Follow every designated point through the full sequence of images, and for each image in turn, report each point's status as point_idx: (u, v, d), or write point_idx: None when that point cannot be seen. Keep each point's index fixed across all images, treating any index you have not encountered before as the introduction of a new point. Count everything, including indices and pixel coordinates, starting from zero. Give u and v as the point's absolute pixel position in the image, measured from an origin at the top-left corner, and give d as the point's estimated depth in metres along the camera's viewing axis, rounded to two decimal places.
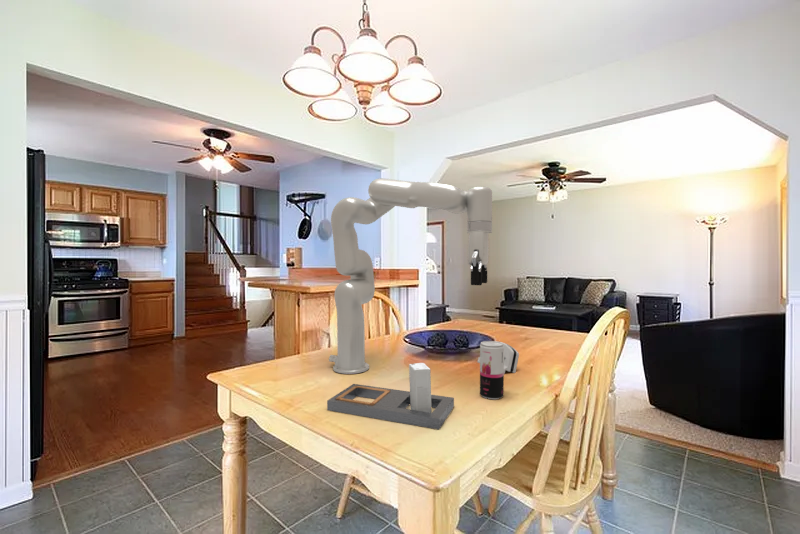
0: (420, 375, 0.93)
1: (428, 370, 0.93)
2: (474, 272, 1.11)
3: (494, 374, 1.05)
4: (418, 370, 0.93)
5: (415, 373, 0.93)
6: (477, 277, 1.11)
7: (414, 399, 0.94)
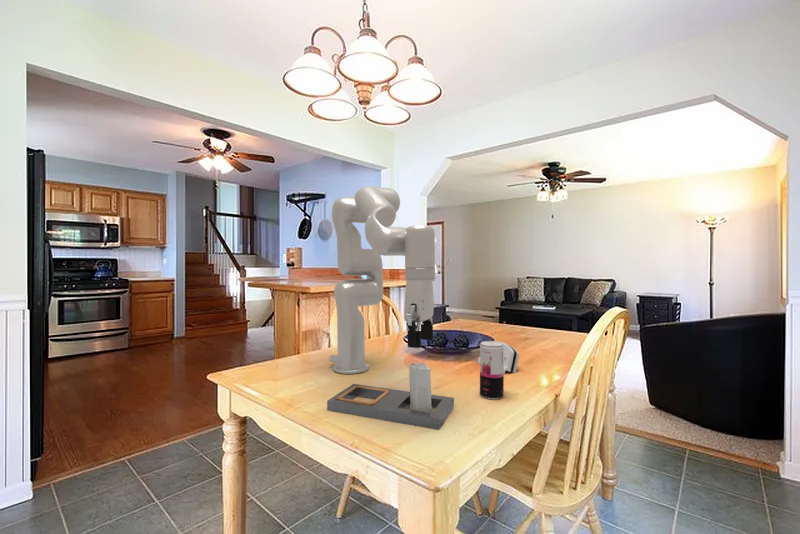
0: (420, 375, 0.93)
1: (428, 370, 0.93)
2: (411, 332, 0.90)
3: (494, 374, 1.05)
4: (418, 370, 0.93)
5: (415, 373, 0.93)
6: (414, 338, 0.90)
7: (414, 399, 0.94)
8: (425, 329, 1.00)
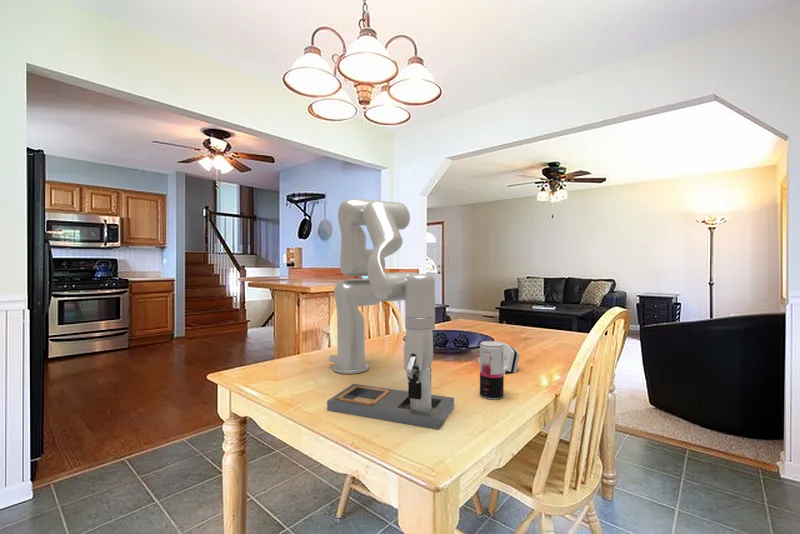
0: None
1: (428, 370, 0.94)
2: (412, 384, 0.92)
3: (493, 374, 1.05)
4: None
5: (415, 373, 0.93)
6: (415, 390, 0.91)
7: (414, 399, 0.94)
8: None
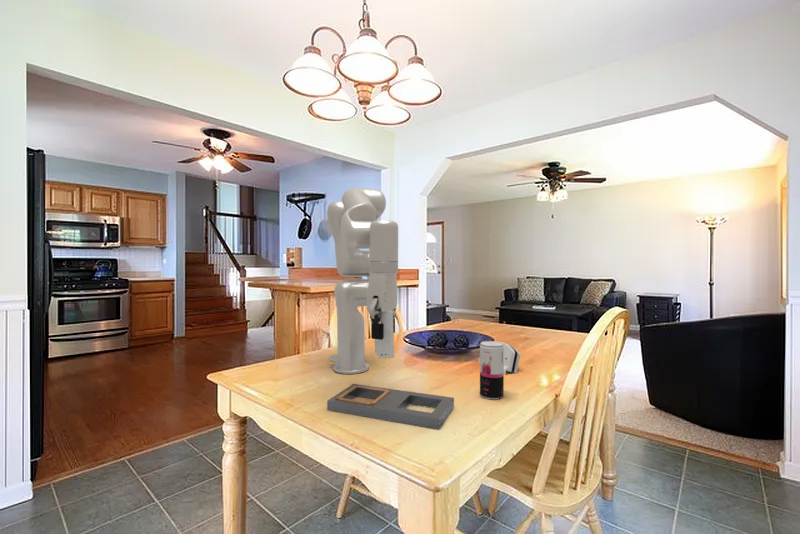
0: (383, 317, 0.97)
1: (391, 312, 0.97)
2: (374, 324, 0.95)
3: (493, 374, 1.05)
4: None
5: (378, 315, 0.96)
6: (377, 330, 0.95)
7: (377, 340, 0.97)
8: None
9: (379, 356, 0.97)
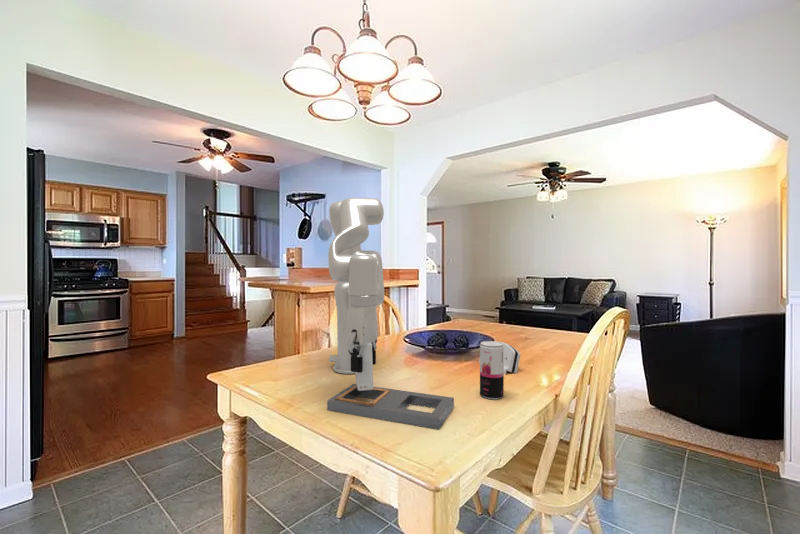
0: (362, 350, 0.99)
1: (370, 345, 0.99)
2: (353, 358, 0.97)
3: (494, 374, 1.05)
4: None
5: (357, 348, 0.99)
6: (356, 364, 0.97)
7: (357, 373, 0.99)
8: None
9: (358, 388, 0.99)
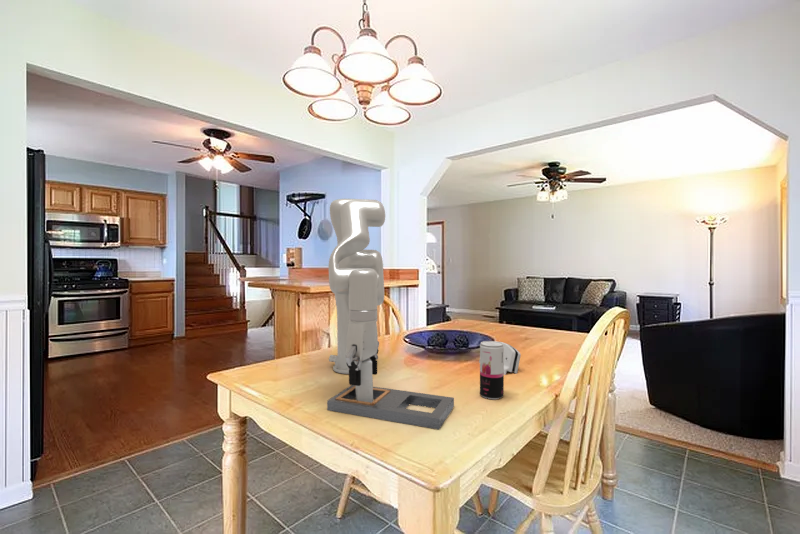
0: (362, 368, 0.99)
1: (370, 363, 1.00)
2: (351, 371, 0.97)
3: (494, 374, 1.05)
4: None
5: None
6: (354, 377, 0.96)
7: (357, 390, 1.00)
8: None
9: None
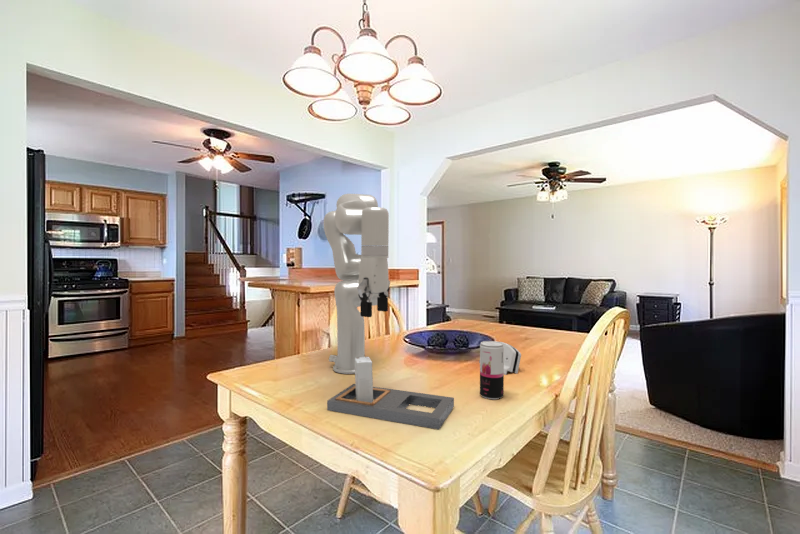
0: (362, 368, 0.99)
1: (370, 363, 1.00)
2: (363, 303, 1.01)
3: (494, 374, 1.05)
4: (360, 363, 0.99)
5: (357, 366, 0.99)
6: (366, 308, 1.01)
7: (357, 390, 1.00)
8: (381, 302, 1.10)
9: None
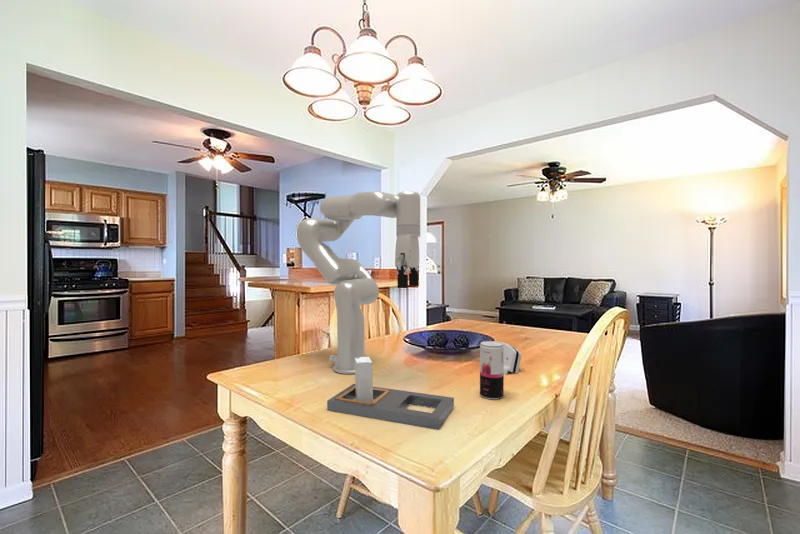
0: (362, 368, 0.99)
1: (370, 363, 1.00)
2: (400, 275, 1.14)
3: (494, 374, 1.05)
4: (360, 363, 0.99)
5: (357, 366, 0.99)
6: (403, 280, 1.13)
7: (357, 390, 1.00)
8: (412, 277, 1.23)
9: None
